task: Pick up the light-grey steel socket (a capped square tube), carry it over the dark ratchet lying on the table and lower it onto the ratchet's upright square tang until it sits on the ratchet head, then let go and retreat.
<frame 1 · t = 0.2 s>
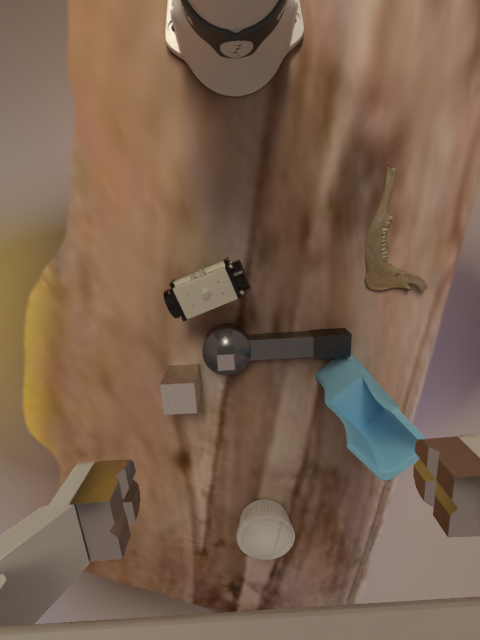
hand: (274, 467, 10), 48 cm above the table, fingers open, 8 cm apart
ramekin: (263, 515, 70), on the table
jawbone: (400, 233, 55), on the table
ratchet: (227, 345, 59), on the table
pneumatic valve: (210, 277, 56), on the table
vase: (342, 376, 61), on the table
socket: (185, 379, 61), on the table
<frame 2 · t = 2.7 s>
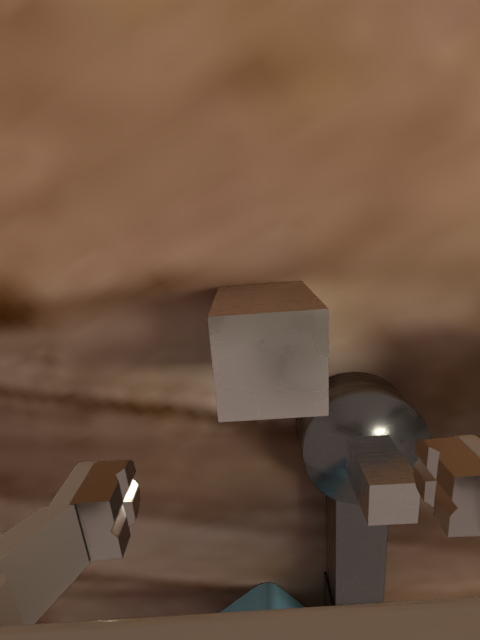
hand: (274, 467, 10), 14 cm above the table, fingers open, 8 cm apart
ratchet: (350, 422, 25), on the table
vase: (266, 620, 31), on the table
socket: (262, 323, 23), on the table
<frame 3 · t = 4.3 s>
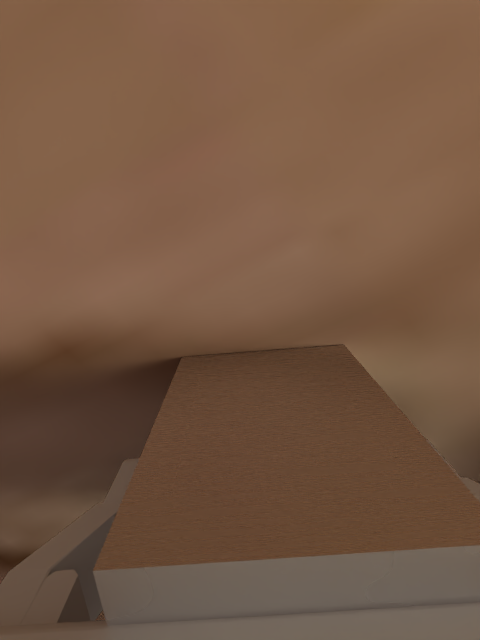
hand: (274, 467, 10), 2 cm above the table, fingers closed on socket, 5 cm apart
socket: (267, 422, 12), on the table, touching gripper
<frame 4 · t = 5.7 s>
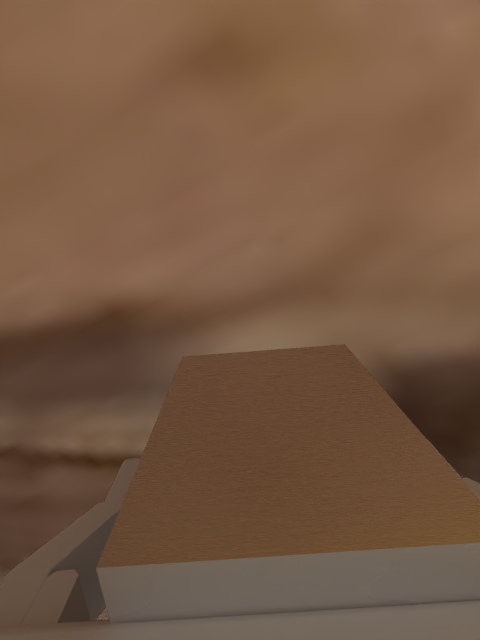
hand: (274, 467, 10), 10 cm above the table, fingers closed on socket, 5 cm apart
socket: (267, 421, 12), point 7 cm above the table, touching gripper
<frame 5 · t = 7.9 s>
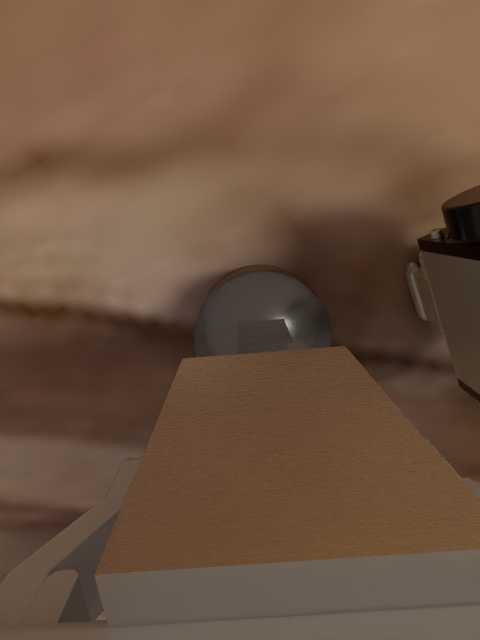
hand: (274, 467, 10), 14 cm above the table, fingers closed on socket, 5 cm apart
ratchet: (259, 323, 23), on the table
pneumatic valve: (439, 280, 22), on the table
socket: (268, 423, 12), point 12 cm above the table, touching gripper
when the fingers open (7 cm above the table, at t = 10.0 s): socket drops 1 cm, resting on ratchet.
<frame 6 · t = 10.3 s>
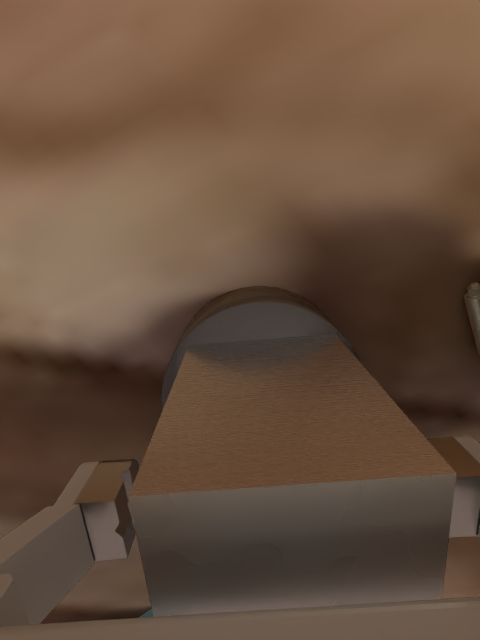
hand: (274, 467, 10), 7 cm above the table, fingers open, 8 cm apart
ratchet: (258, 366, 17), on the table
socket: (265, 404, 13), point 3 cm above the table, touching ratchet
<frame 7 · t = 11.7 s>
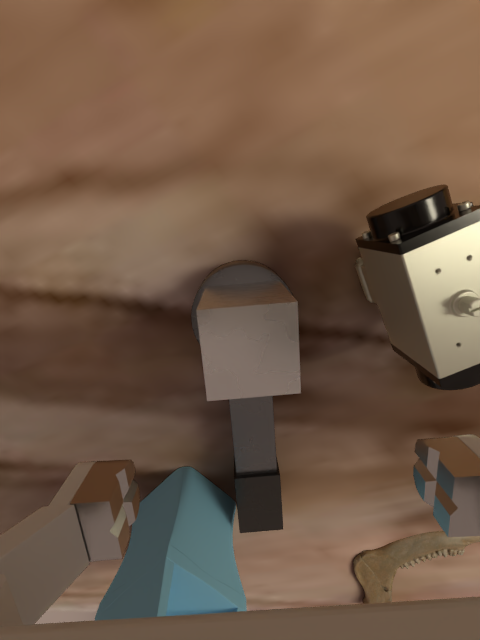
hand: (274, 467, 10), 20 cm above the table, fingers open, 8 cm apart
jawbone: (435, 564, 38), on the table
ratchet: (242, 307, 29), on the table
pneumatic valve: (382, 271, 29), on the table
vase: (187, 506, 35), on the table
socket: (245, 318, 26), point 3 cm above the table, touching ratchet
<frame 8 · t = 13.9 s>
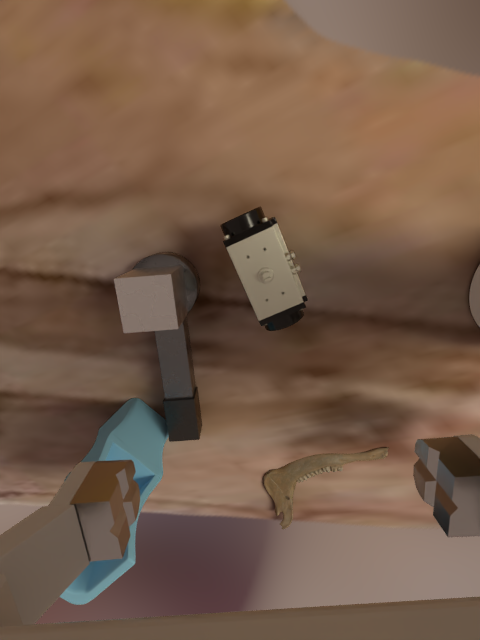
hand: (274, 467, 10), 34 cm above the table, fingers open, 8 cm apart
jawbone: (326, 481, 52), on the table
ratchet: (168, 284, 43), on the table
pneumatic valve: (262, 260, 42), on the table
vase: (138, 428, 49), on the table
socket: (162, 289, 39), point 3 cm above the table, touching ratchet
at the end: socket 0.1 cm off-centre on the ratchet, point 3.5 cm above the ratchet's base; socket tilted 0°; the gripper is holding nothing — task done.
